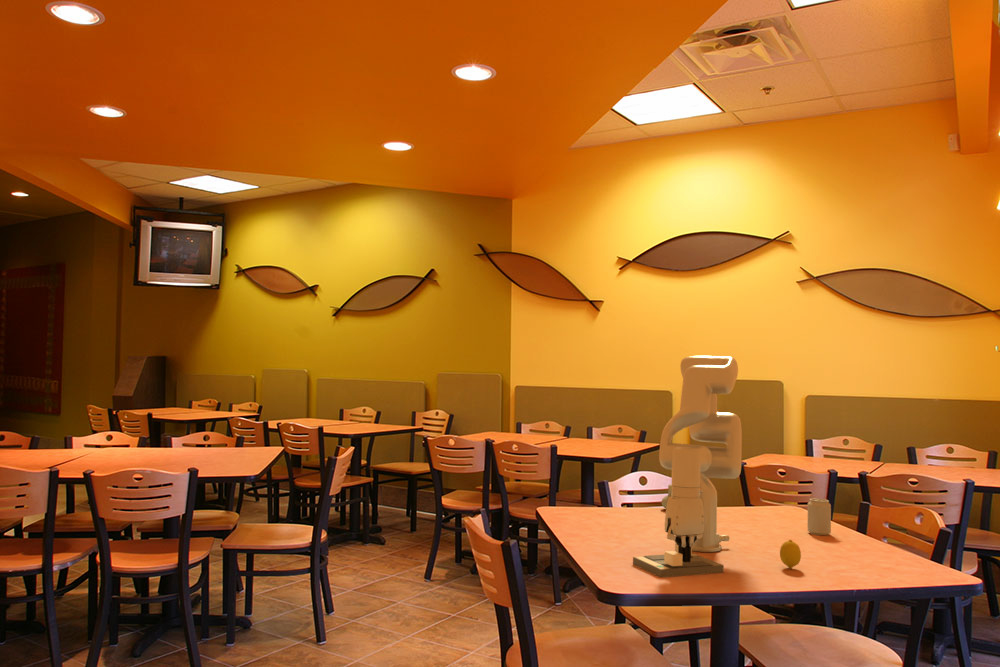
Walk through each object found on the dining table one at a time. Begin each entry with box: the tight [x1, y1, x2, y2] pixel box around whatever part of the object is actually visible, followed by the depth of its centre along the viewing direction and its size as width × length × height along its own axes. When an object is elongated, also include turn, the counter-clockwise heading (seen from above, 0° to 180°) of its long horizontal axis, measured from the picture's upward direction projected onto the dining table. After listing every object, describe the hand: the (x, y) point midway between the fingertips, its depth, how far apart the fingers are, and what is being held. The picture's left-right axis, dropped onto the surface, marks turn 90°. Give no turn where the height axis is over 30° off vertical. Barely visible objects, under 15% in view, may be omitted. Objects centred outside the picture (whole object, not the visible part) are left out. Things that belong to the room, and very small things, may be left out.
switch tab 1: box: [664, 550, 683, 566], centre depth 200 cm, size 3×4×3 cm
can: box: [807, 498, 832, 536], centre depth 261 cm, size 8×8×12 cm
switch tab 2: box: [674, 541, 693, 556], centre depth 212 cm, size 3×4×3 cm
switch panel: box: [632, 552, 724, 578], centre depth 206 cm, size 20×14×2 cm
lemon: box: [779, 539, 802, 570], centre depth 210 cm, size 6×6×8 cm
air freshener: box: [661, 483, 672, 509], centre depth 300 cm, size 11×8×10 cm
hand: (684, 560), depth 201 cm, fingers closed
